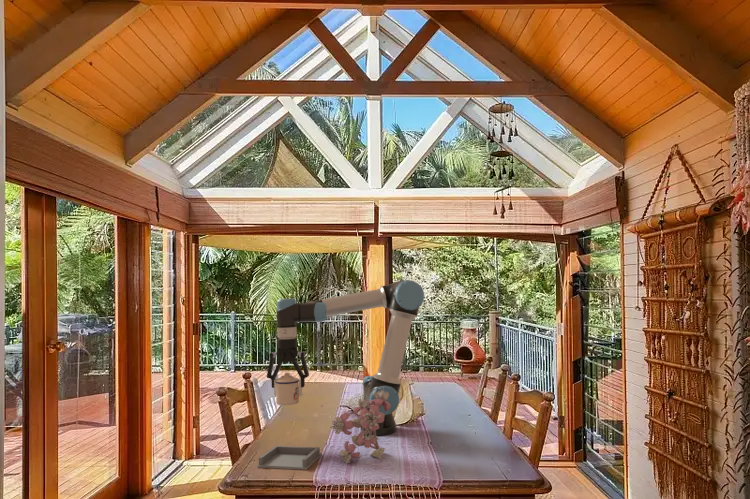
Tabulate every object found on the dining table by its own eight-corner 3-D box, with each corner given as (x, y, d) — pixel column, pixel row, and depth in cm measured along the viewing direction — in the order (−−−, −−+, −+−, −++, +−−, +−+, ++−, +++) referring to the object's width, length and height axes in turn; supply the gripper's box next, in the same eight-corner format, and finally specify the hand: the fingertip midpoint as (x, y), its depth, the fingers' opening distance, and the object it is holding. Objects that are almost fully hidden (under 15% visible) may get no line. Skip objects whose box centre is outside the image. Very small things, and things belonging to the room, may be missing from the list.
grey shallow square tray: (321, 455, 207) (321, 446, 208) (306, 469, 192) (305, 460, 192) (276, 453, 212) (276, 444, 212) (257, 467, 196) (257, 458, 196)
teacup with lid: (298, 405, 215) (298, 374, 216) (274, 406, 214) (274, 375, 215) (300, 398, 227) (299, 369, 228) (277, 399, 226) (276, 370, 227)
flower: (338, 442, 217) (327, 389, 208) (396, 435, 217) (387, 381, 207) (336, 482, 199) (324, 426, 189) (399, 474, 198) (390, 418, 189)
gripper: (257, 339, 219) (258, 398, 218) (312, 338, 217) (314, 397, 216) (262, 337, 226) (263, 394, 225) (316, 336, 225) (317, 393, 224)
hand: (288, 395), depth 221 cm, fingers closed on teacup with lid, 9 cm apart
